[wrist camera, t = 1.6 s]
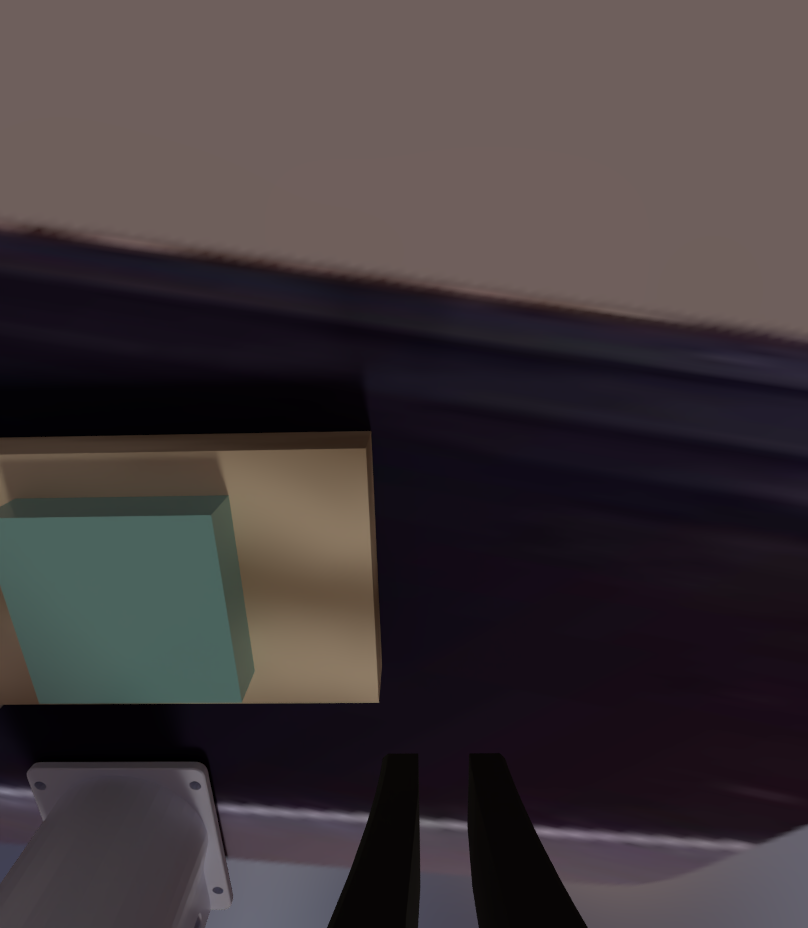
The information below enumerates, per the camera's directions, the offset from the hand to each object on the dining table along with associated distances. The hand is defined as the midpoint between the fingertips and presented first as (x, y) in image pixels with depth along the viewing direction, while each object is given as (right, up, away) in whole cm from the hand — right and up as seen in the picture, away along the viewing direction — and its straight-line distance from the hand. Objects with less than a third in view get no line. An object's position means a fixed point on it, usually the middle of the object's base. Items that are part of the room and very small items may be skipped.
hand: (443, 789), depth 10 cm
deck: (-10, +3, +9) cm, 14 cm away
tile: (-10, +2, +7) cm, 12 cm away
